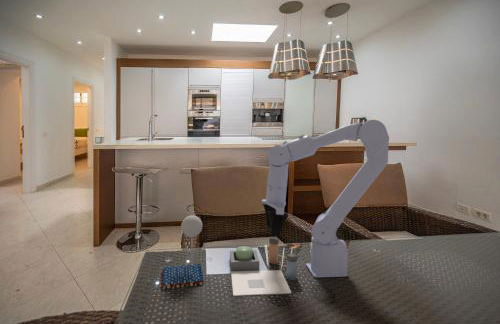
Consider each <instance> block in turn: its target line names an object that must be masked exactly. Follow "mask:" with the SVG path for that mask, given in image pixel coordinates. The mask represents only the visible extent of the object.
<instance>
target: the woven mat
mask: <svg viewBox="0 0 500 324" xmlns="http://www.w3.org/2000/svg"><path fill="white" fill-rule="evenodd" d="M201 265H202V264H201V263H193V264H192V265H191V264H189V263H187V264H185V265H184V264H182V265H178V264H177V265H175V266H174V265H171V266H165V267H163V269H162V272H161V282H160V284H161V285H160V287H161V288H162V290H166V289H168V290H169V289H175V288H177V289H178V288H180V287H181V288H184V287H188V286H190V287H193V286H194V287H197V286H198V285H197V284H199V286H203V283H205V281H204V276H203V275H204V274H203V271H202V266H201Z"/></svg>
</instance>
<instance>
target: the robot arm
mask: <svg viewBox="0 0 500 324" xmlns="http://www.w3.org/2000/svg"><path fill="white" fill-rule="evenodd" d="M387 130H388V129H387V128H386V125H385V124H384V123H383V122H382V121H380V120H378V119H369V120H366V121H365V122H356V123H351V124H348V125H347V124H346V125H344V126H342V127H339V128H336V129H334V130H331V131H329V132H326V133H323V134H320V135H318V136H316V137H312V136H310V135H307V134H306V135H304V134H300V135H298V136H297V137H298V138H296V139H292V140H289V141H287V140H286V141H282V145H281V144H275V145H274V146H272V147H271V148H270V149H269V150H268V152H267V160H268V162H269V163H268V164H269V165H268V175H267V183H266V196H265V198H264V199H261V203H262V205H263V209H264V212H265V220H266V222H265V223H266V227H267V228H270V235H271V237H280V235H281V231H282V229H283V226H284V224H285V222H286V220H287V219H288V217H289V214H288V212H285V206H286V205H287V202H286V198H287V188H288V181H289V180H288V177H289V163H290V162H296V161H298V160H302V159H305V158H308V157H311V156H314V155H315V154H316V152H317V150H318V149H319V148H322V147H325V146H329V145H333V144H336V143H339V142H343V141H346V140H347V141H353V142H358V138H359V140H360V141H361V143H362V145H363V146H364V148H365V149H364V150H365V154H366V155H365V156H366V158H367V159H366V160H365V161H364V163H363V164H362V166H360V168H359V169H358V171H357V172H356V173H355V175H354V176H353V177H352V178H351V180H349V182H348V184H346V186H345V188H344V189H343V190H342V192H341V193H339V196H338V197H337V198H336V200H335V201H334V202H333V203H332V204H331V205H330V207H329V208H328V209H327V210H326V211H325V212H323V213H321V214H319V215H318V217H317V218H316V219H315V222H314V224H313V225H312V227H311V233H310V234H311V248H310V262H308V263H306V264H305V266H306V267H307V269H308V270H309V272H310V273H311V275H312V276H313V277H314V278H317V279H318V278H336V277H337V278H339V277H340V278H343V277H348V276H349V275H348V273H347V272H348V258H349V257H348V254H349V253H348V252H349V251H348V246H347V243H346V242H345V241H344V240H343V239H339V238H338V236H337V235H336V234H337V231H338V229H339V228H340V226H341V225H342V223H343V222H344V220H345V219H346V217H347V215H348V214H349V213H350V212H351V210H352V209H353V208H354V206H356V204H357V203H358V202H359V201H360V199H361V198H362V197H363V196H364V194H366V191H367V190H368V189H369V188H370V186H372V184H374V182H375V180H376V179H377V178H378V177H379V176H380V174H381V173H382V172H383V170H384V169H385V168H386V167H387V164H388V163H389V145H390V143H389V142H390V137H389V134H388V131H387Z"/></svg>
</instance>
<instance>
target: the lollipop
mask: <svg viewBox="0 0 500 324" xmlns="http://www.w3.org/2000/svg"><path fill="white" fill-rule="evenodd" d="M203 226H204V225H203V221H202V220H201V218H200V217H198V216H196V215H193V214H191V215H187V216H185V217H184V218H183V220H182V222H181V224H180V227H181V228H180V229H181V232H182V233H183V234H184V235H185V236H186V237H190V265H192V264H194V260H193V258H194V256H193V254H194V251H193V250H194V246H193V245H194V244H193V242H194V237H196V236H198V235H199V234H200V233H201V232H202V230H203Z"/></svg>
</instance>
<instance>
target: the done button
mask: <svg viewBox="0 0 500 324" xmlns="http://www.w3.org/2000/svg"><path fill="white" fill-rule="evenodd" d="M252 250H253V248H252V247H250V246H243V245H242V246H238V247H236V248H235V251H236V260H252ZM236 260H235V261H236Z"/></svg>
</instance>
